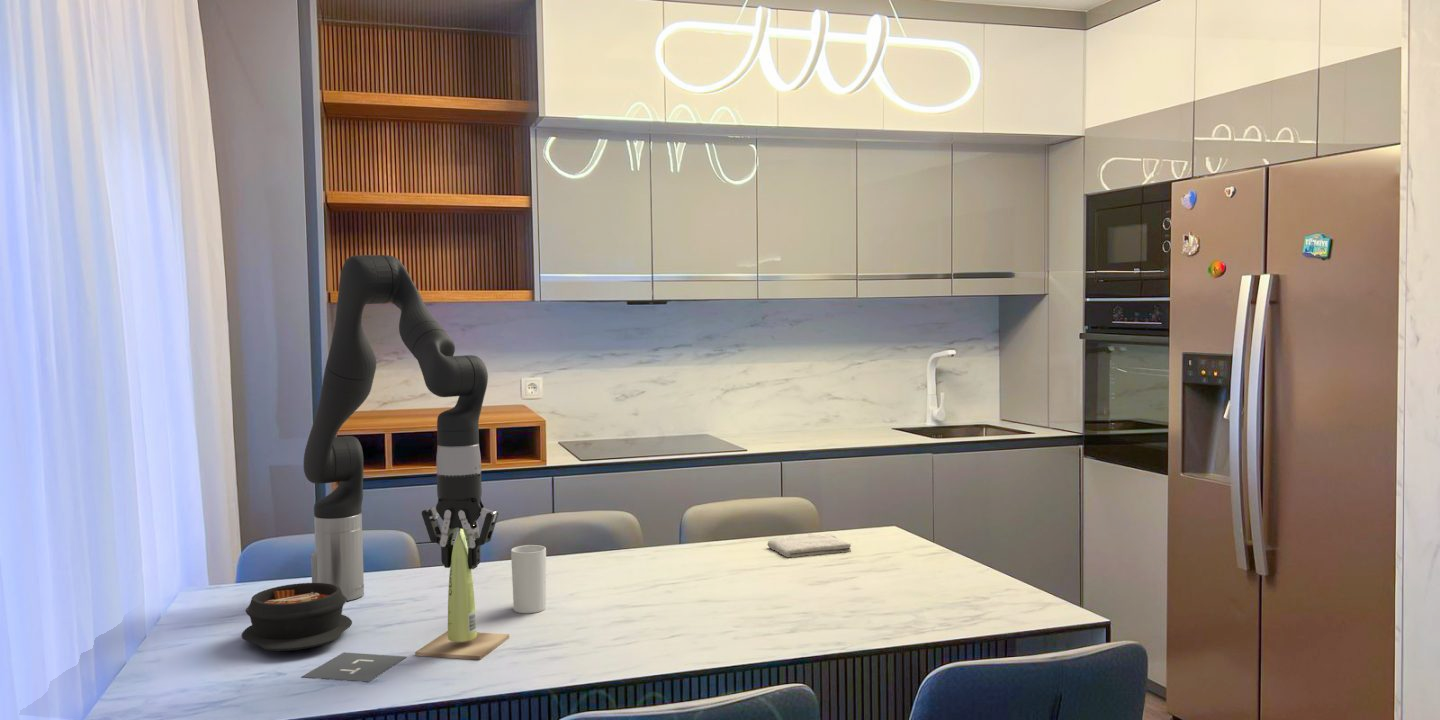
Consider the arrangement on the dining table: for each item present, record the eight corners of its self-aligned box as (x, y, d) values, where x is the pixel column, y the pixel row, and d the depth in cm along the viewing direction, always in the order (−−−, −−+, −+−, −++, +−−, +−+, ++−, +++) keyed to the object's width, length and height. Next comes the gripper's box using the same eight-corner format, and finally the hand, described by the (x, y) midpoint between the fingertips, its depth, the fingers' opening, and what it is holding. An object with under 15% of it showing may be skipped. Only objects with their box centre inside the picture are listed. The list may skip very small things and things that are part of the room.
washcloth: (854, 553, 249) (854, 540, 248) (786, 560, 242) (786, 547, 242) (832, 543, 260) (832, 531, 260) (766, 550, 253) (766, 537, 253)
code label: (301, 680, 167) (301, 676, 167) (343, 655, 179) (343, 652, 179) (368, 685, 164) (368, 681, 164) (407, 660, 176) (406, 656, 176)
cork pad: (415, 655, 177) (415, 652, 177) (448, 633, 188) (448, 630, 188) (480, 659, 174) (480, 656, 174) (509, 637, 186) (509, 634, 186)
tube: (439, 638, 181) (437, 528, 180) (463, 631, 185) (461, 523, 184) (459, 645, 178) (457, 532, 177) (483, 637, 181) (481, 527, 180)
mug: (546, 613, 201) (545, 552, 200) (511, 615, 200) (510, 553, 199) (547, 598, 211) (546, 540, 210) (514, 600, 210) (512, 542, 209)
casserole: (240, 627, 194) (238, 583, 194) (345, 613, 202) (343, 571, 202) (242, 668, 172) (241, 618, 172) (360, 650, 180) (358, 603, 180)
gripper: (410, 472, 178) (413, 571, 179) (487, 474, 175) (489, 574, 176) (431, 465, 185) (434, 560, 186) (505, 467, 182) (507, 564, 183)
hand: (461, 566), depth 181 cm, fingers closed on tube, 4 cm apart
